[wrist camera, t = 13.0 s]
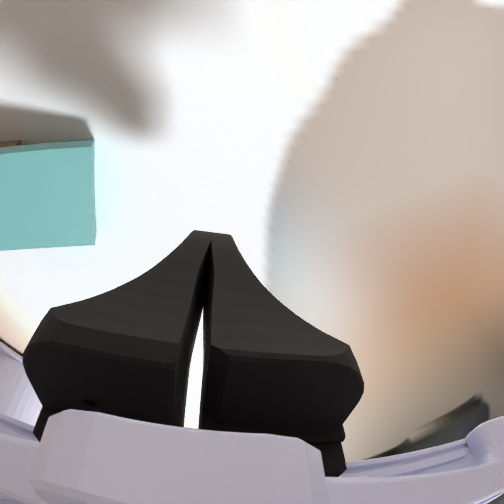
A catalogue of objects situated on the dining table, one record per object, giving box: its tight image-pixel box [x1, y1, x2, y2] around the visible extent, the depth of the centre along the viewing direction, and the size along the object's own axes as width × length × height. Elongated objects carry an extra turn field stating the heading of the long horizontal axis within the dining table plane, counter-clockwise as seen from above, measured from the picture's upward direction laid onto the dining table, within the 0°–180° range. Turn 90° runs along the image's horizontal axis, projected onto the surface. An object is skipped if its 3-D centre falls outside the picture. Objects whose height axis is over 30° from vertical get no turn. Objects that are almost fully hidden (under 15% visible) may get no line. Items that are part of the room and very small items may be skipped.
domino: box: [0, 140, 96, 251], centre depth 13 cm, size 2×5×7 cm
